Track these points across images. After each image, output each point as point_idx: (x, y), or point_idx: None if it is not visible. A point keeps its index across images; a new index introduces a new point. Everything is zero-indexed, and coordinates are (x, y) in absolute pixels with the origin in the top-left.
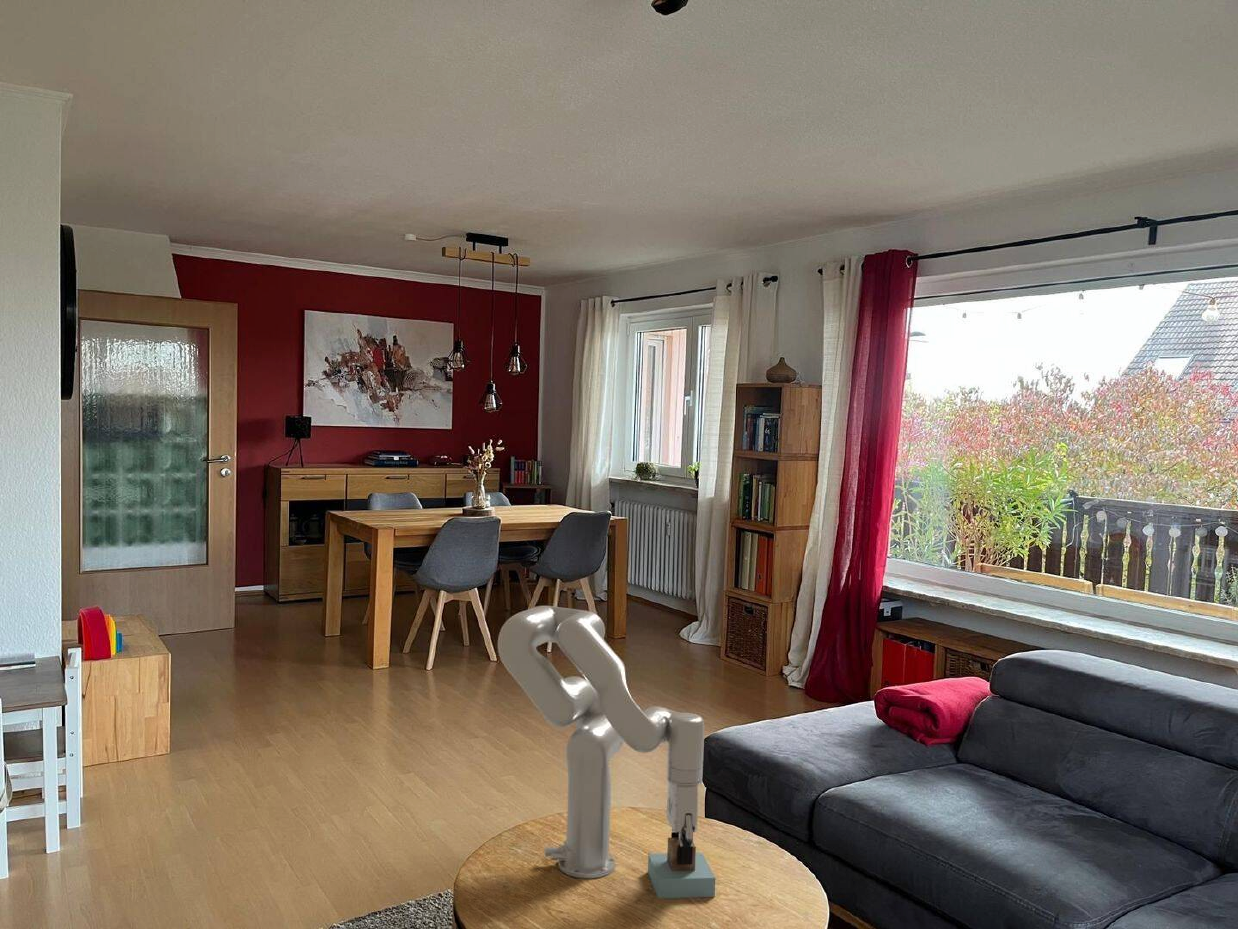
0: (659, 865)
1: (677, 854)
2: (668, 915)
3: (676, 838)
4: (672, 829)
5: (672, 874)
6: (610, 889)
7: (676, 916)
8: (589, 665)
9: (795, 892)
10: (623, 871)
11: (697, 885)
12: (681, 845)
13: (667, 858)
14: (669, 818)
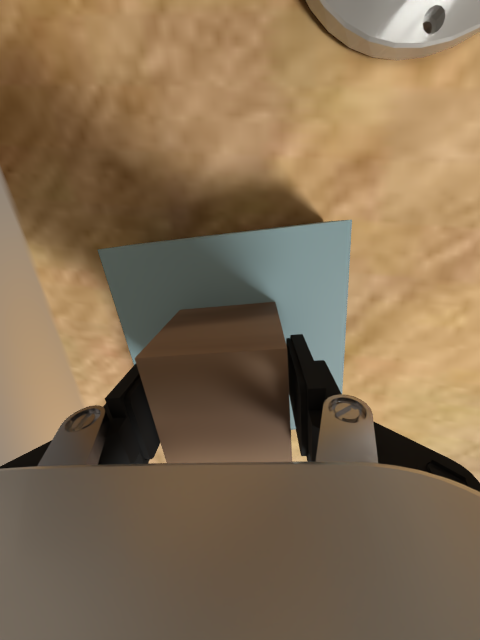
0: (227, 264)
1: (136, 366)
2: (55, 268)
3: (274, 396)
4: (347, 405)
5: (154, 309)
6: (187, 39)
7: (57, 289)
8: None
9: None
10: (350, 111)
11: None
12: (69, 425)
13: (271, 305)
14: (155, 552)
